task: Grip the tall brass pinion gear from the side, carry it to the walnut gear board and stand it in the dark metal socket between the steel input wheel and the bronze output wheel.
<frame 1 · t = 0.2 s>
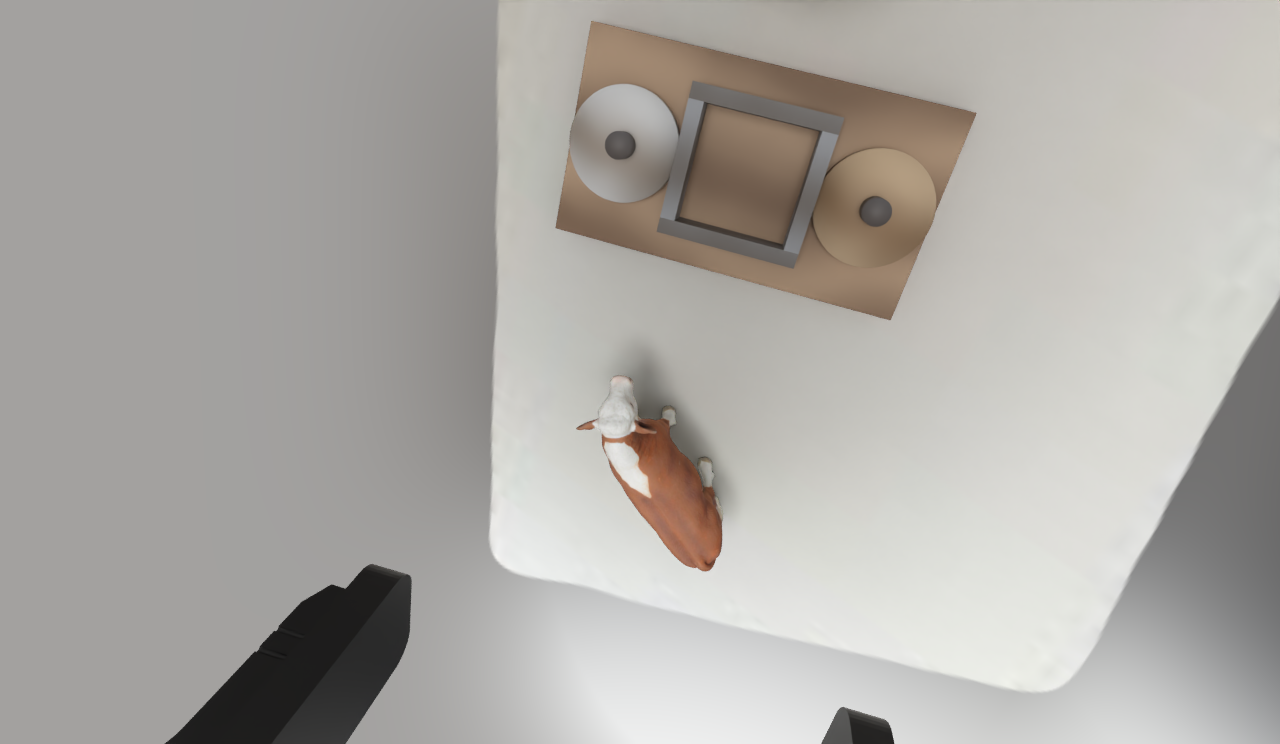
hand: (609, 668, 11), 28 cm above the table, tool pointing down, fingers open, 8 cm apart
bull figurine: (669, 434, 41), on the table
gear board: (747, 174, 34), on the table
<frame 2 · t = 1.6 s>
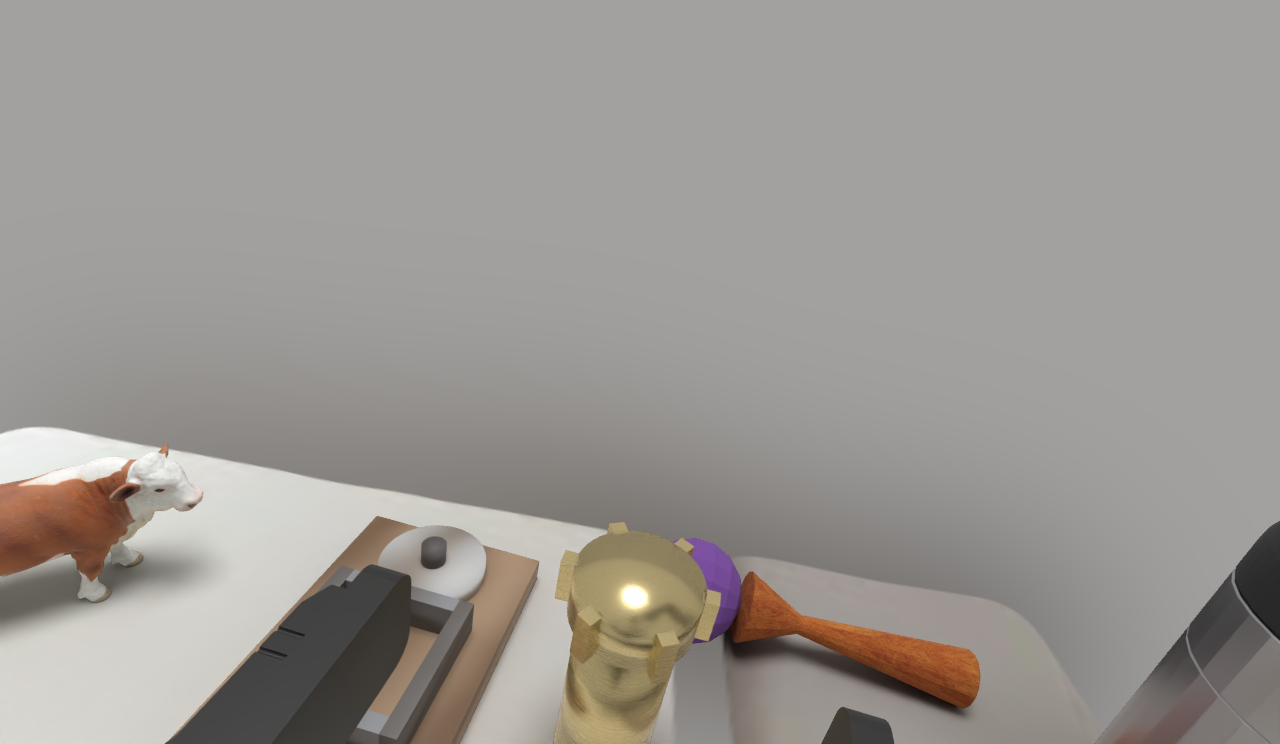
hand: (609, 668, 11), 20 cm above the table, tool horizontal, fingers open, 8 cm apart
bull figurine: (63, 596, 32), on the table
kendama: (790, 655, 38), on the table
gear board: (366, 689, 31), on the table
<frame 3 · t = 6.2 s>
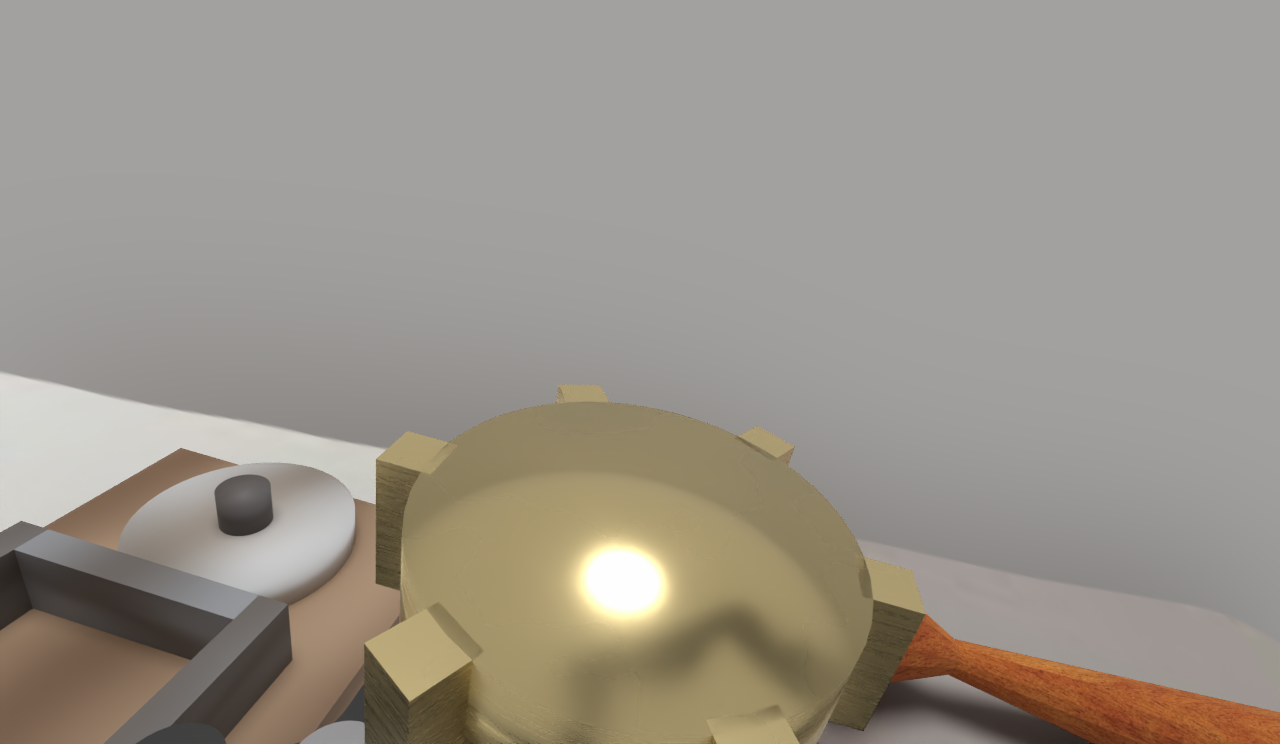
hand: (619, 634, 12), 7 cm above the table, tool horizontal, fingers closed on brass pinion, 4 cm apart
kendama: (927, 712, 21), on the table
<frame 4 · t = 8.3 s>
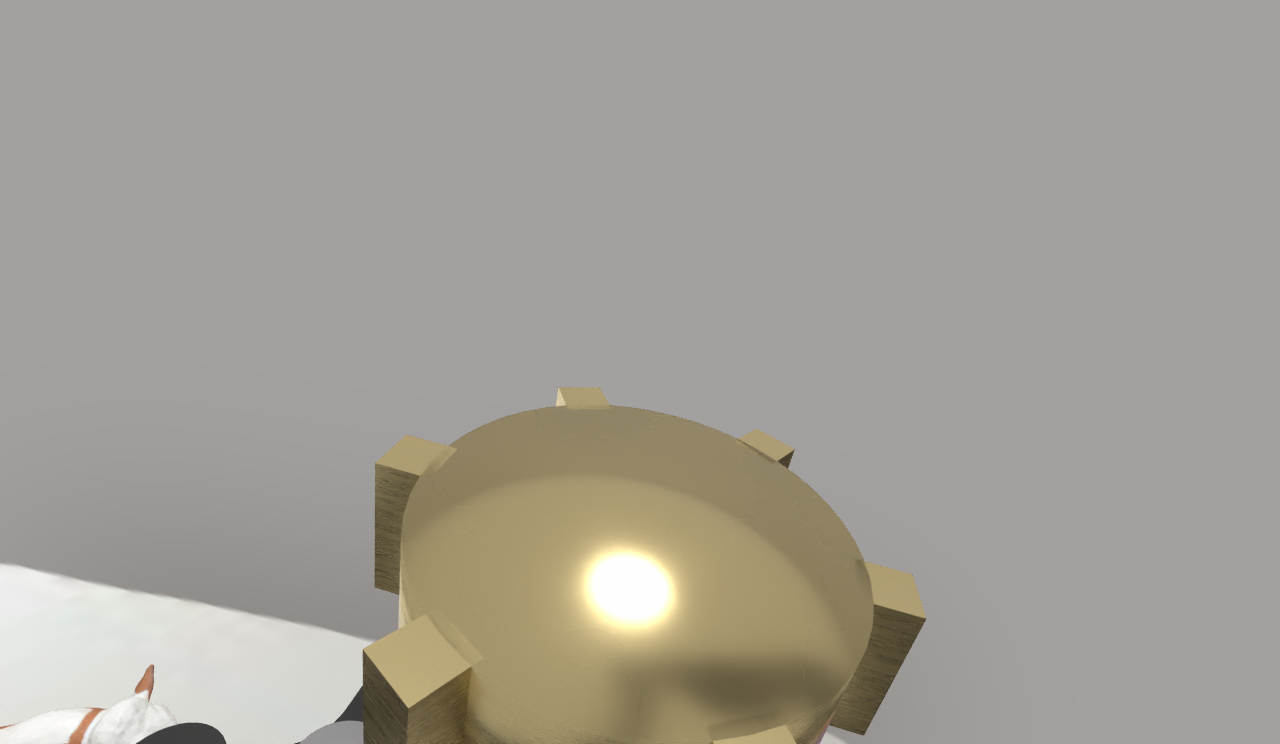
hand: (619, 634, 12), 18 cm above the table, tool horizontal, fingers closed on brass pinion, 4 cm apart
when the fingers open (9 cm above the table, at t = 10.8 s): brass pinion stays where it is, resting on gear board.
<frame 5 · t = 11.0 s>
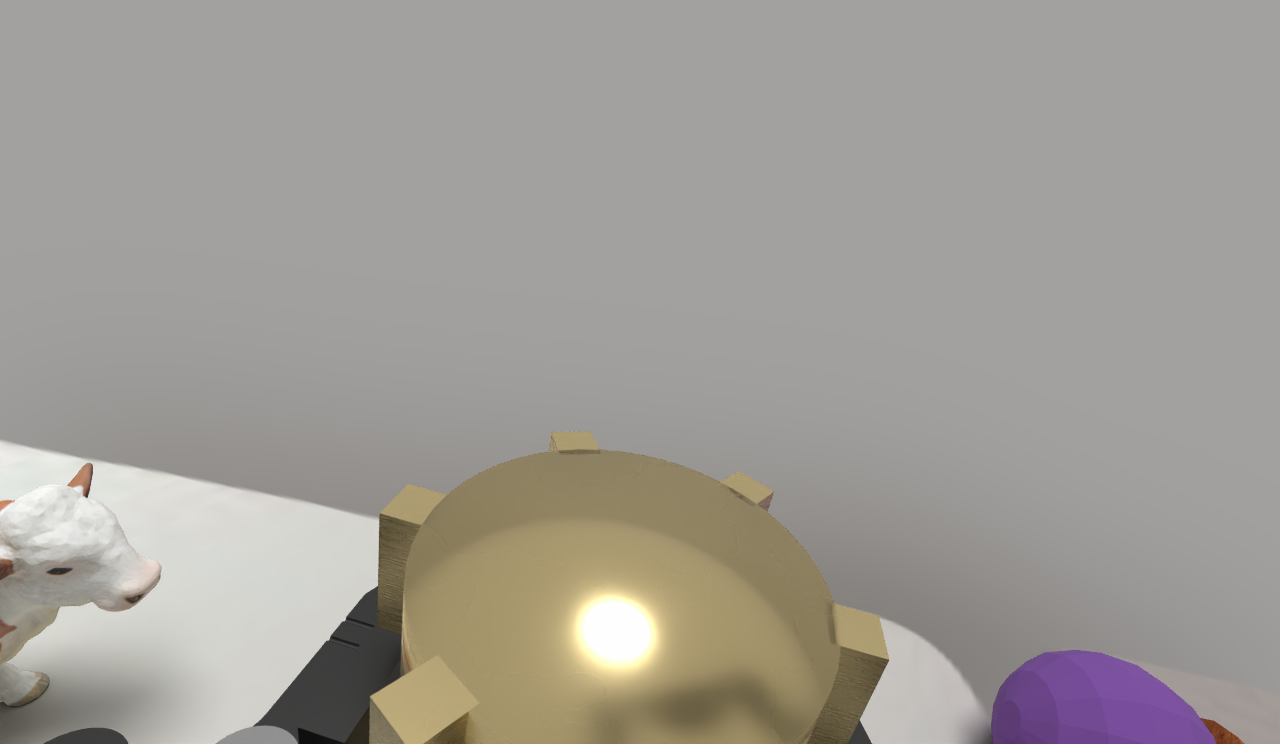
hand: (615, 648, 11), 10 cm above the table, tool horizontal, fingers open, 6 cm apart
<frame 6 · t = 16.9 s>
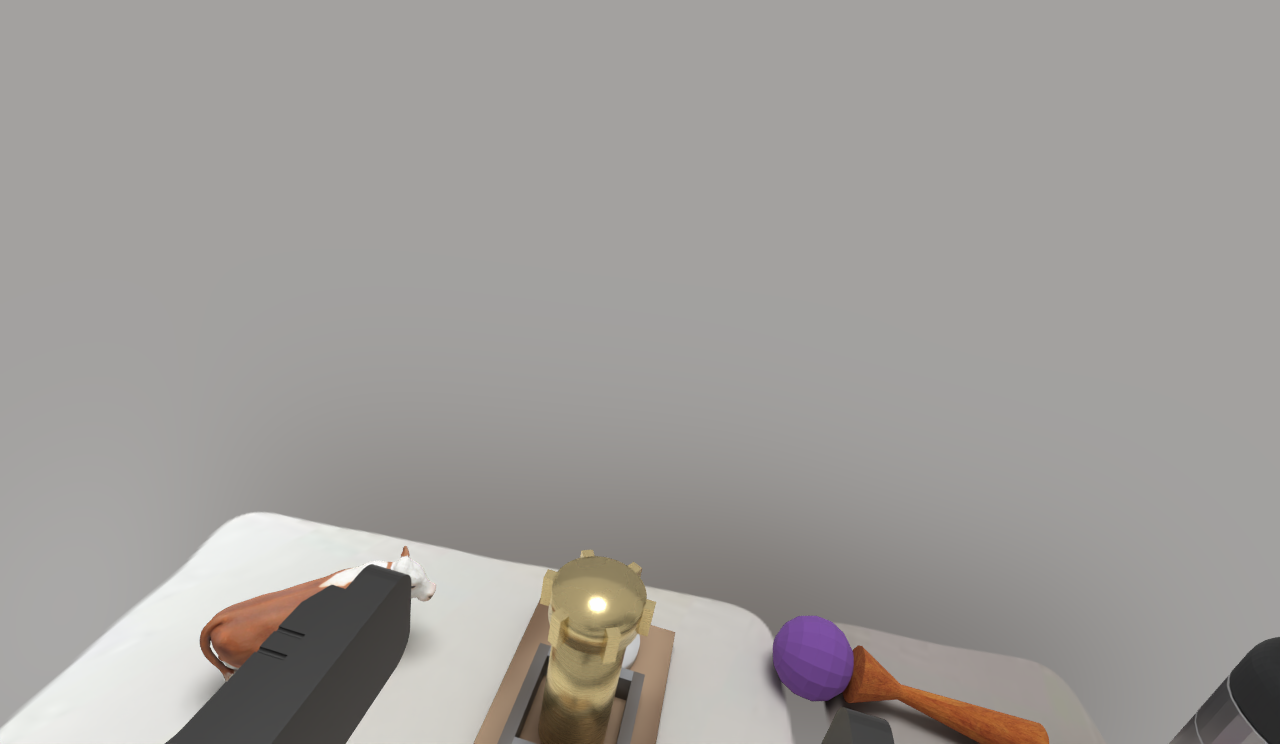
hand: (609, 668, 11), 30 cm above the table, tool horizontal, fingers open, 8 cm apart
brass pinion: (572, 728, 40), point 2 cm above the table, touching gear board
bull figurine: (329, 664, 42), on the table
kendama: (890, 715, 47), on the table
gear board: (569, 741, 40), on the table
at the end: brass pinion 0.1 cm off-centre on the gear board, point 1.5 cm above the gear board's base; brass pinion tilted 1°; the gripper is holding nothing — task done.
